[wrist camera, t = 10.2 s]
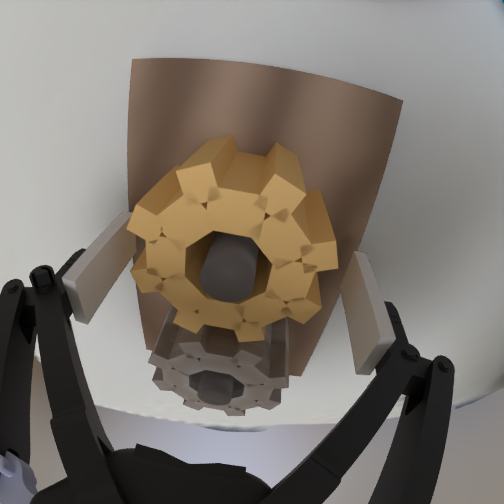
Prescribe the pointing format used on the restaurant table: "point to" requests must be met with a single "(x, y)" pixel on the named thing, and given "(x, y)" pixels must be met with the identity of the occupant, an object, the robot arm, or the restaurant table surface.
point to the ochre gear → (239, 223)
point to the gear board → (257, 125)
